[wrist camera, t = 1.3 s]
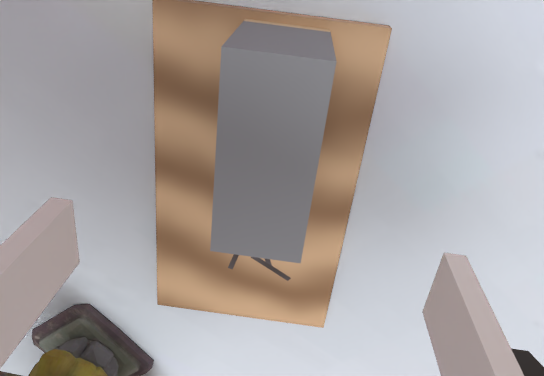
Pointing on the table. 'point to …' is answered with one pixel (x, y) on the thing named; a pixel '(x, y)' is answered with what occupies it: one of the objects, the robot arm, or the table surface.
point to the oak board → (201, 165)
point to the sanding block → (269, 137)
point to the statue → (85, 347)
